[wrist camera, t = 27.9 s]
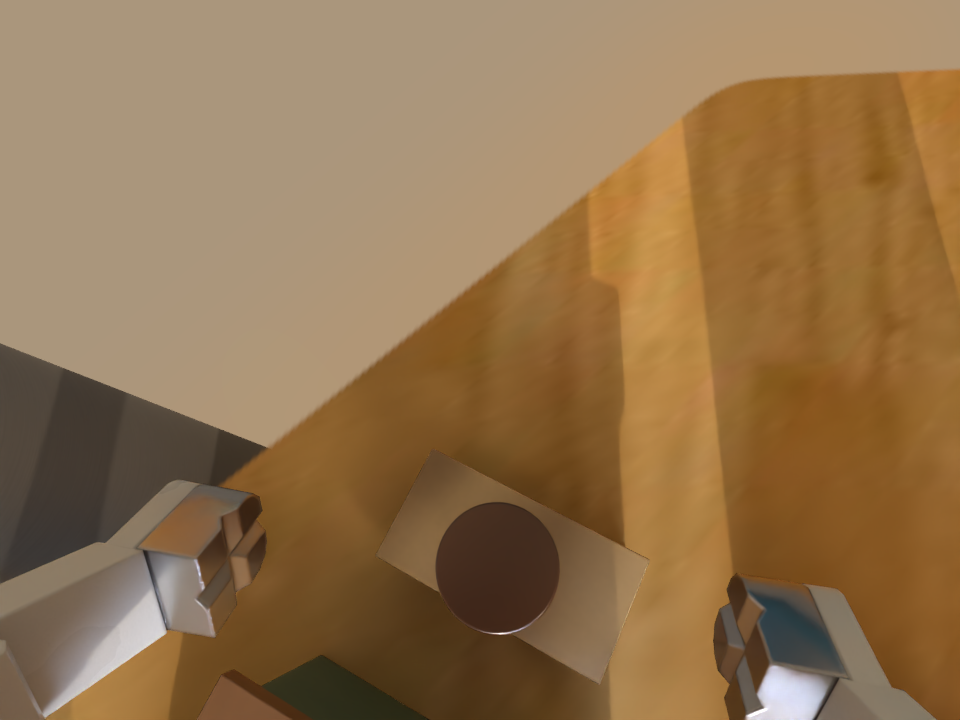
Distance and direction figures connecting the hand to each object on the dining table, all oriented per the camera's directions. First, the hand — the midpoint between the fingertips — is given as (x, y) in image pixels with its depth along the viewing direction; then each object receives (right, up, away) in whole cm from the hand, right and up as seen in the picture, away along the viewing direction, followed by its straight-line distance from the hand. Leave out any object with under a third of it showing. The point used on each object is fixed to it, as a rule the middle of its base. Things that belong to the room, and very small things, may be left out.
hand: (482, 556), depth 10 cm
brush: (+1, -6, +16) cm, 17 cm away
